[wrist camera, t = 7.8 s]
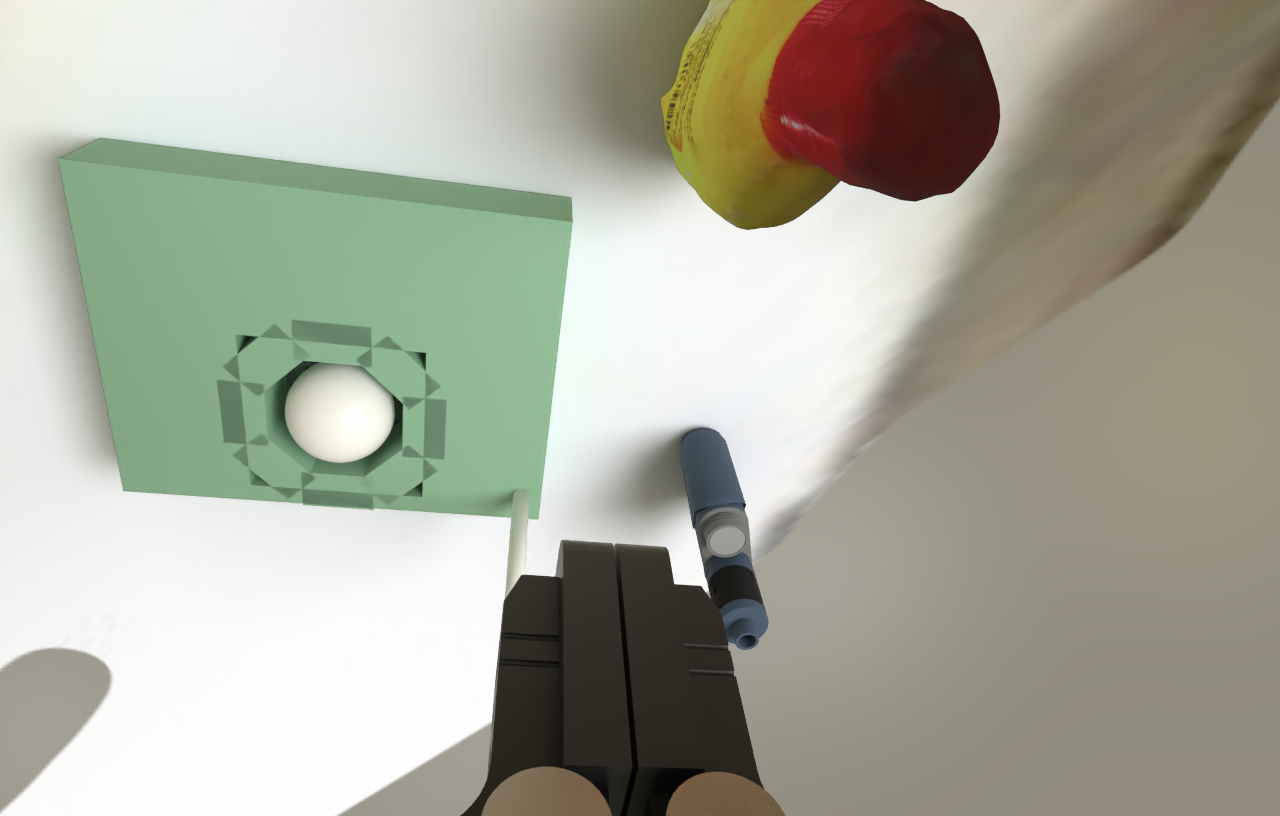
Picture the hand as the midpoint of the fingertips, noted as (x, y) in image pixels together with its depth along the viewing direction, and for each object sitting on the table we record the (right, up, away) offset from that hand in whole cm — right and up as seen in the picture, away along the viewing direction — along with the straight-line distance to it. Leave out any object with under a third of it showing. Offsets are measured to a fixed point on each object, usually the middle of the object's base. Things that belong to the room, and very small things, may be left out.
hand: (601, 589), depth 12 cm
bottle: (+5, +19, +23) cm, 30 cm away
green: (-14, +6, +29) cm, 32 cm away
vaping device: (+4, 0, +35) cm, 35 cm away
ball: (-14, +2, +28) cm, 31 cm away
